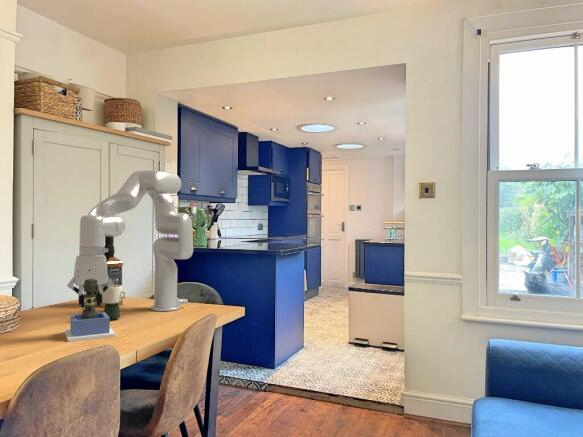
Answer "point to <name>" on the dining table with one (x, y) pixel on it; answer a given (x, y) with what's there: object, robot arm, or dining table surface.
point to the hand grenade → (89, 299)
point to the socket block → (89, 328)
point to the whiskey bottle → (112, 267)
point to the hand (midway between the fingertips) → (90, 305)
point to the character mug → (113, 300)
